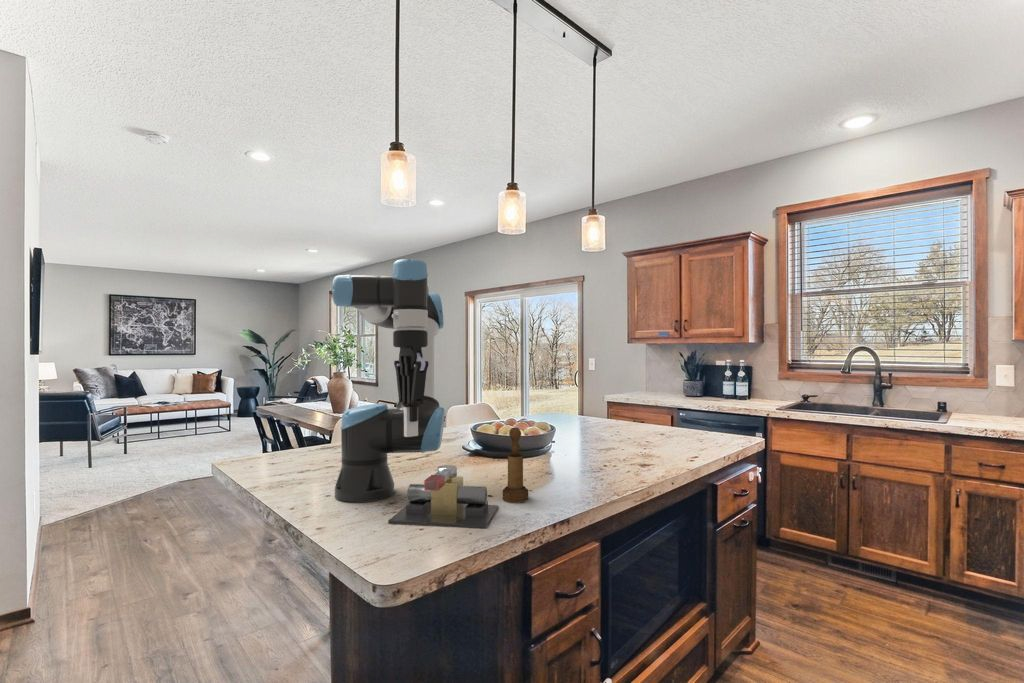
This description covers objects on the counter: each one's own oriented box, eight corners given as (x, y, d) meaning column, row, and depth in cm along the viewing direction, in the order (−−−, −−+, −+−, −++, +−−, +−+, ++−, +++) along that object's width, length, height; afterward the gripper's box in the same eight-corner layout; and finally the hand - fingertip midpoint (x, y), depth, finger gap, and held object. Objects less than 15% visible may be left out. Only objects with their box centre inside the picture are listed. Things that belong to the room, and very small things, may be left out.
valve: (388, 523, 112) (388, 485, 112) (410, 503, 126) (410, 470, 126) (486, 528, 109) (486, 489, 109) (498, 507, 122) (498, 472, 123)
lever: (441, 473, 121) (440, 464, 121) (459, 473, 121) (458, 465, 121) (421, 490, 107) (421, 480, 107) (441, 490, 107) (441, 481, 107)
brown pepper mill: (519, 504, 125) (519, 430, 125) (497, 500, 128) (497, 428, 128) (533, 497, 130) (532, 427, 131) (511, 493, 134) (511, 425, 134)
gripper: (383, 330, 117) (383, 433, 116) (407, 328, 106) (407, 442, 106) (413, 330, 121) (413, 430, 121) (439, 328, 111) (440, 438, 110)
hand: (411, 435), depth 113 cm, fingers closed
